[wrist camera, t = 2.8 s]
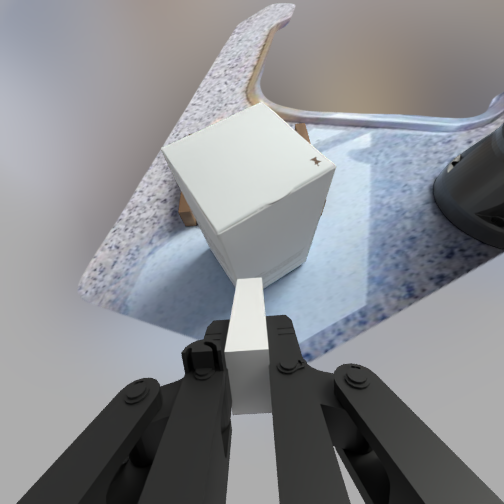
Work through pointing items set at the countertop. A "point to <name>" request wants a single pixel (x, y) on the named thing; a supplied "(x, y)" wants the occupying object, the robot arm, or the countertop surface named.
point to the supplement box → (253, 191)
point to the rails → (184, 207)
